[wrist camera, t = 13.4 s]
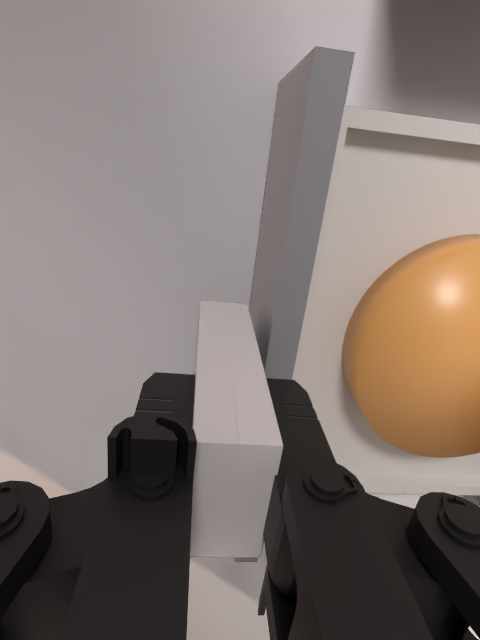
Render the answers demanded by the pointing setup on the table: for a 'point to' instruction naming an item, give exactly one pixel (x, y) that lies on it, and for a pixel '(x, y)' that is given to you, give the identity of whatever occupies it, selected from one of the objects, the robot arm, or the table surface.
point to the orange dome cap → (421, 350)
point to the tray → (352, 249)
